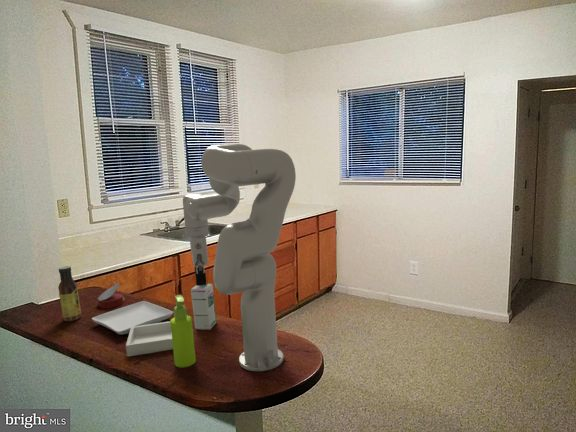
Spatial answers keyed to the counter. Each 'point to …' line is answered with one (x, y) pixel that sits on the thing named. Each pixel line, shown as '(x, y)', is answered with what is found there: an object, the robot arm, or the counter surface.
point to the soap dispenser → (182, 335)
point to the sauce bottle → (68, 295)
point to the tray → (149, 339)
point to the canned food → (111, 298)
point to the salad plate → (132, 316)
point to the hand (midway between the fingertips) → (200, 280)
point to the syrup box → (203, 306)
